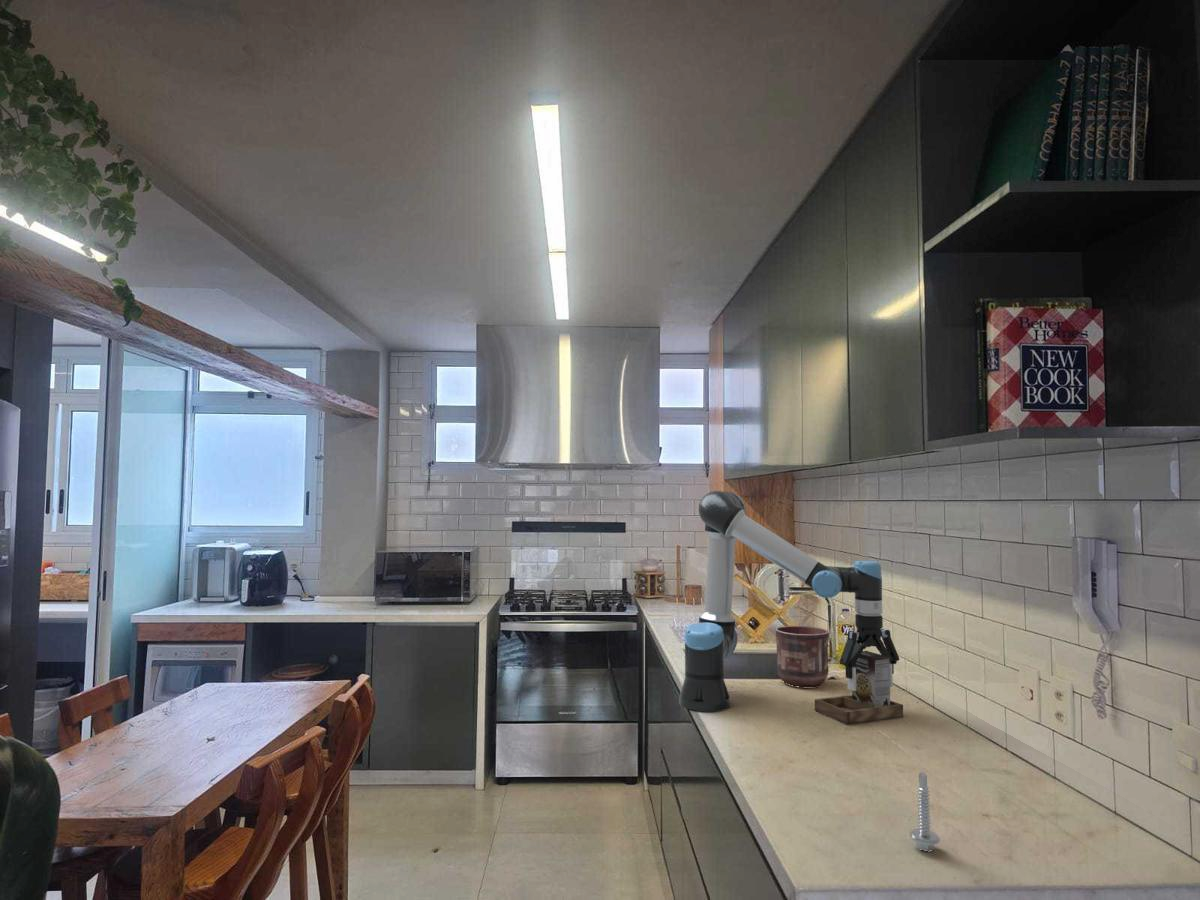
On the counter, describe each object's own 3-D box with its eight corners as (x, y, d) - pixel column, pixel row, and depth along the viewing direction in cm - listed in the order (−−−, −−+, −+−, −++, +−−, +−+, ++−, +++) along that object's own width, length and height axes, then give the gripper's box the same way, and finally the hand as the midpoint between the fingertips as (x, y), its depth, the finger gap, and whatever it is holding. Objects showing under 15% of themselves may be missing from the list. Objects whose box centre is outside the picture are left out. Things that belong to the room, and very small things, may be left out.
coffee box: (851, 707, 202) (849, 651, 203) (867, 704, 205) (866, 649, 206) (875, 716, 194) (873, 657, 195) (891, 713, 196) (890, 656, 198)
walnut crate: (847, 725, 188) (847, 712, 188) (814, 711, 200) (814, 699, 200) (903, 717, 195) (902, 704, 195) (868, 704, 207) (868, 692, 208)
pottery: (834, 692, 221) (833, 635, 223) (778, 689, 224) (778, 633, 226) (825, 679, 239) (824, 626, 240) (773, 676, 241) (773, 624, 243)
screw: (938, 858, 116) (907, 850, 119) (942, 846, 121) (912, 839, 123) (935, 779, 118) (905, 773, 120) (939, 770, 122) (910, 764, 124)
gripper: (843, 618, 194) (845, 694, 192) (911, 613, 203) (912, 687, 201) (826, 614, 200) (827, 688, 199) (891, 610, 210) (893, 680, 208)
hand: (870, 687), depth 200 cm, fingers open, 13 cm apart
